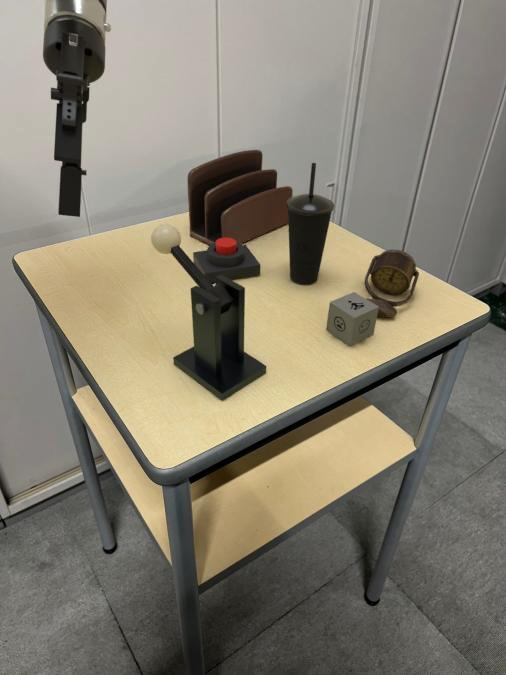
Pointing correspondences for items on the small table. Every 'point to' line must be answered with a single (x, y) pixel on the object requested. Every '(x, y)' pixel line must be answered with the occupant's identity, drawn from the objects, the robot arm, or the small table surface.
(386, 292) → the brown antique clock
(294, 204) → the drinking cup
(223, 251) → the red button
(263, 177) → the letter holder
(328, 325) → the dice cube
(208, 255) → the button box
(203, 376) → the bracket
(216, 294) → the lever
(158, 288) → the small table surface
